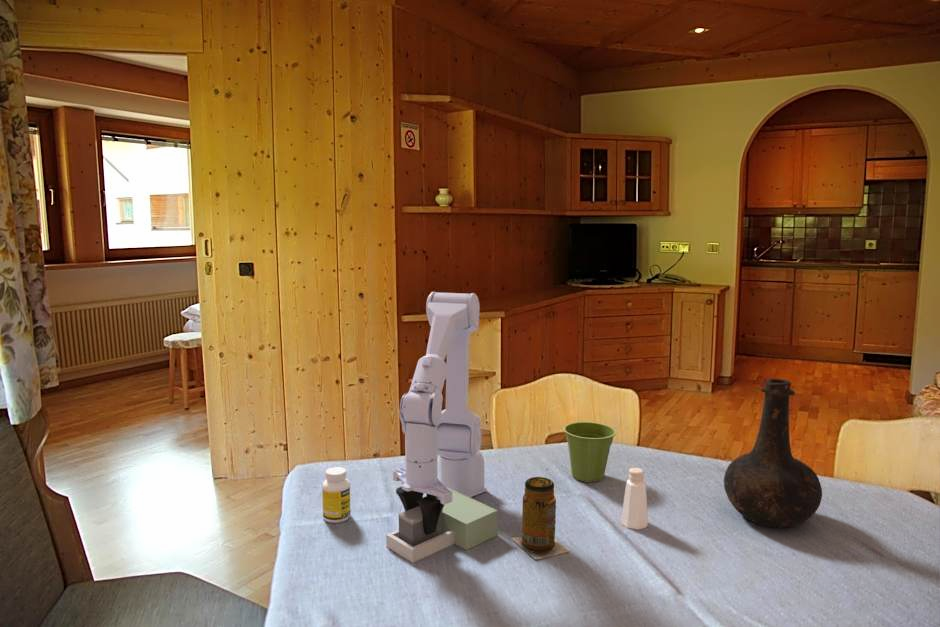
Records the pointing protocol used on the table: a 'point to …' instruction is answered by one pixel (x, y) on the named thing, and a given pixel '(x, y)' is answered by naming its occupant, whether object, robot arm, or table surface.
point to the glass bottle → (773, 470)
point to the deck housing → (452, 529)
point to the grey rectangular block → (416, 527)
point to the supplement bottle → (336, 495)
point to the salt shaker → (635, 501)
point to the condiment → (539, 520)
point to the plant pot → (589, 449)
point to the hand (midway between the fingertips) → (422, 528)
